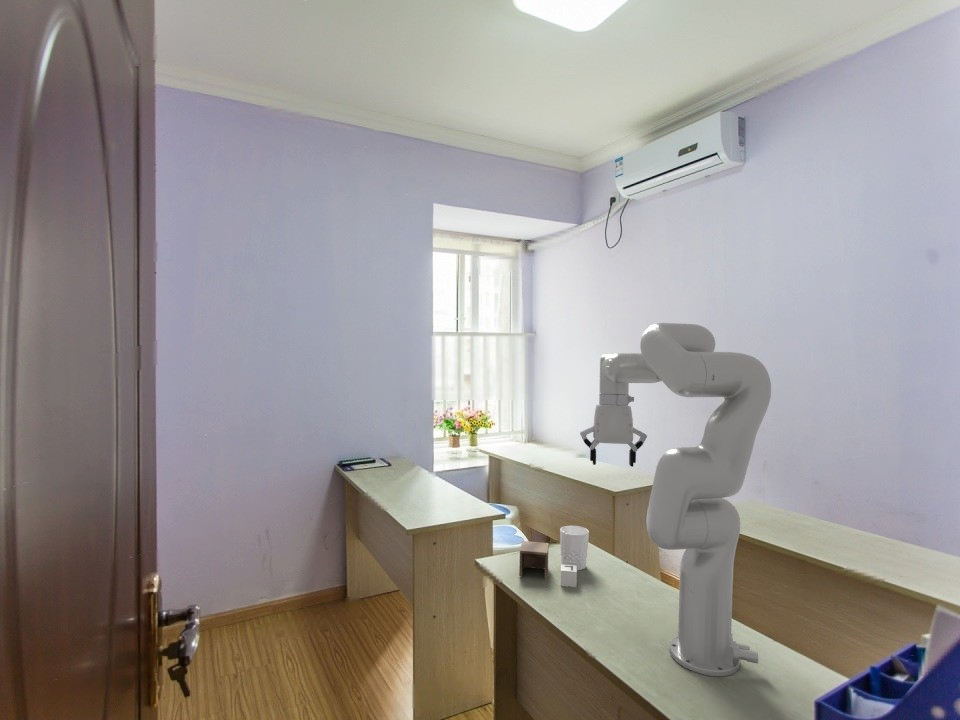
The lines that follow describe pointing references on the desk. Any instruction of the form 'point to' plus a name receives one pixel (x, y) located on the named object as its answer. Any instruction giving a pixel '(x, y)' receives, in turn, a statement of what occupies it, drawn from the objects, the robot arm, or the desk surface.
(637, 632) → the desk surface
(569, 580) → the cube
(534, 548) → the brown open box
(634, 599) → the desk surface
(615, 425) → the robot arm
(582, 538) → the white cup
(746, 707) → the desk surface
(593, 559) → the desk surface
